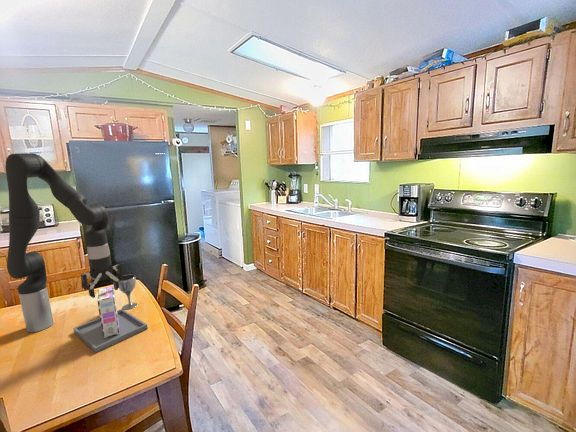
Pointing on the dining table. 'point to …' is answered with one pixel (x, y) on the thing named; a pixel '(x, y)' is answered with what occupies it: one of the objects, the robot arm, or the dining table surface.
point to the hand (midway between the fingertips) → (104, 293)
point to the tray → (96, 342)
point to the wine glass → (127, 288)
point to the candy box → (108, 312)
